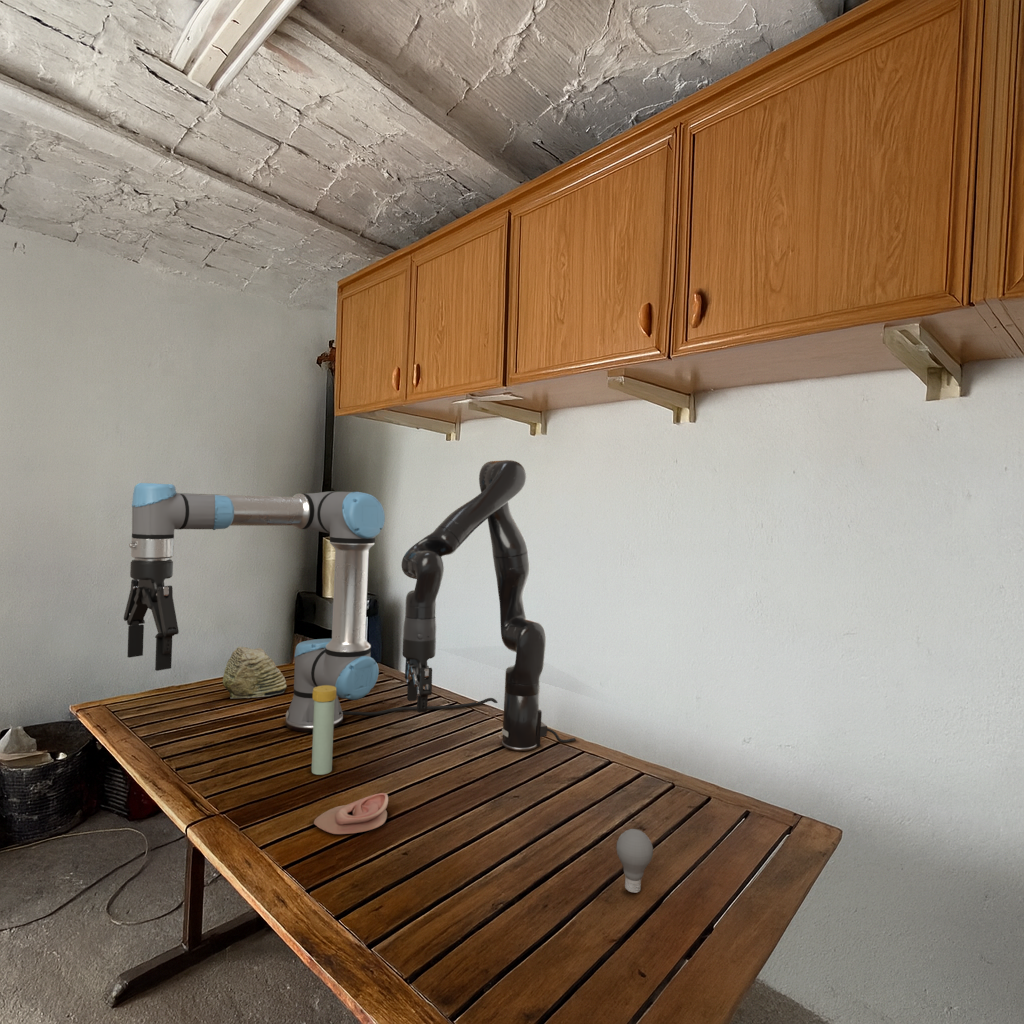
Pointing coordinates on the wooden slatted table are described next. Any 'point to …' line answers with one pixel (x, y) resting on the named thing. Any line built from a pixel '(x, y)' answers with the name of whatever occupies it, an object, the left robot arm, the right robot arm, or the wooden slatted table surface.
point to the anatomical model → (355, 816)
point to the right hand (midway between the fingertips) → (416, 706)
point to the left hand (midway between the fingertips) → (148, 662)
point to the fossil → (252, 674)
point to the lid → (324, 693)
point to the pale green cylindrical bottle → (322, 737)
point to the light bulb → (634, 857)
